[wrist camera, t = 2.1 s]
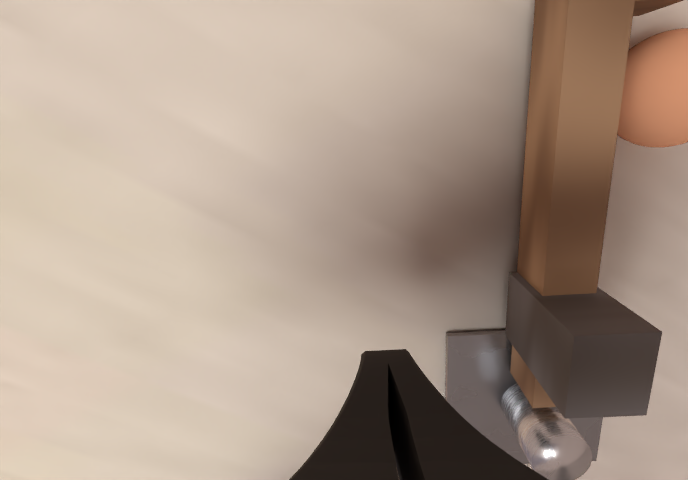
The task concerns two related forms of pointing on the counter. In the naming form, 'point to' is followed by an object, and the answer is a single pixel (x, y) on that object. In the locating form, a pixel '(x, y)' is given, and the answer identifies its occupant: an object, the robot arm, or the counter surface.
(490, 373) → the pivot base
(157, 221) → the counter surface
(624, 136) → the ball
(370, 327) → the counter surface
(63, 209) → the counter surface
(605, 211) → the lever
